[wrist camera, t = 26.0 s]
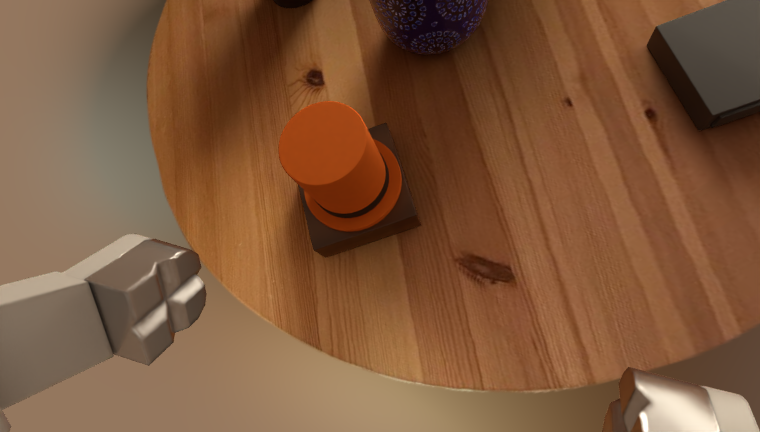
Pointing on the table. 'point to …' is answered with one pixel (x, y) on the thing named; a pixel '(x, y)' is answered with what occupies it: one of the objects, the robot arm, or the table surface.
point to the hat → (340, 166)
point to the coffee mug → (291, 3)
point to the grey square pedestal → (713, 61)
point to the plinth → (395, 222)
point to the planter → (429, 22)
